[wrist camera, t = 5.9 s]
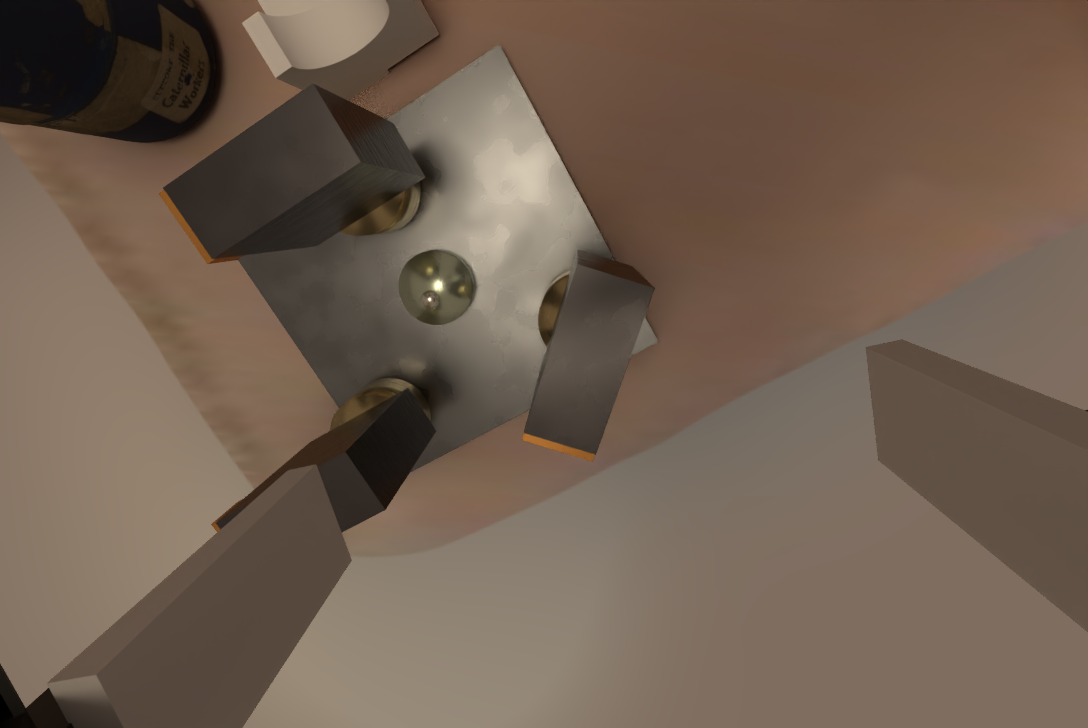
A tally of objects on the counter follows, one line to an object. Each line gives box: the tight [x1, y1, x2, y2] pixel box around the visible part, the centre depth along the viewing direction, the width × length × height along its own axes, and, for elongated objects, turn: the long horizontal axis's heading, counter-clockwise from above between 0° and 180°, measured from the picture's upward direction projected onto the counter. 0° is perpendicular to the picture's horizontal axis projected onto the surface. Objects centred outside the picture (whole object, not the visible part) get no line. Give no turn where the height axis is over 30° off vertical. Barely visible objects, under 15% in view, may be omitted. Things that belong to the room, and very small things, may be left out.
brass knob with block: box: [211, 378, 436, 532], centre depth 30 cm, size 7×5×13 cm
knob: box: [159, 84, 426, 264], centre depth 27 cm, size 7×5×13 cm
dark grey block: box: [522, 249, 655, 461], centre depth 28 cm, size 7×5×13 cm
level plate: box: [238, 45, 658, 472], centre depth 34 cm, size 20×19×2 cm
